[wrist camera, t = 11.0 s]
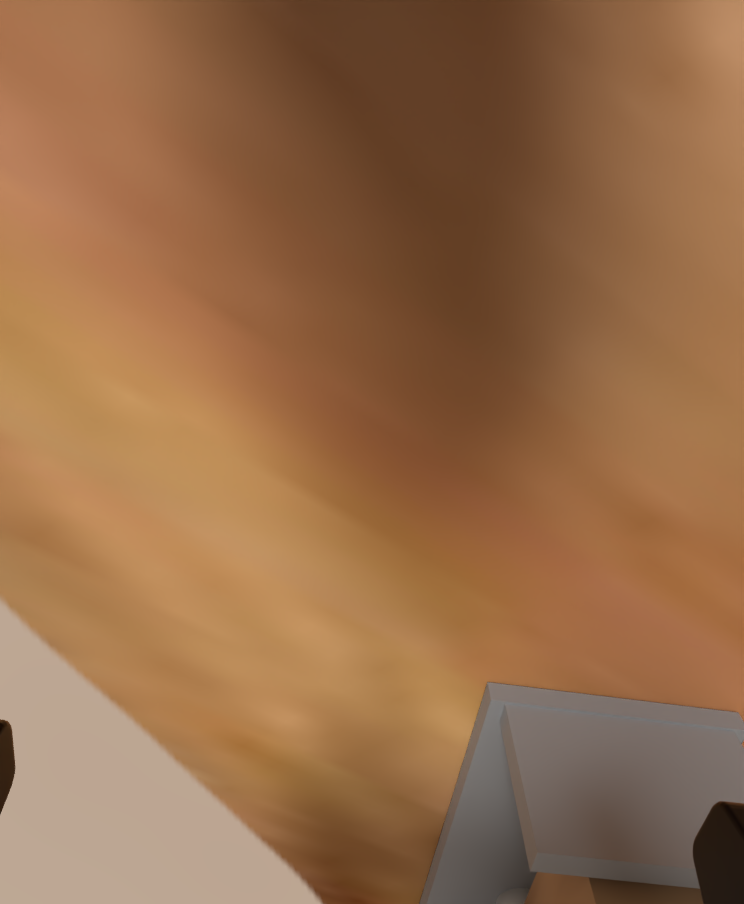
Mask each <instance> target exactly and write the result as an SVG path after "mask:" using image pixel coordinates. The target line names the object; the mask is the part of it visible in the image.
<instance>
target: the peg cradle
mask: <svg viewBox="0 0 744 904" xmlns="http://www.w3.org/2000/svg"><path fill="white" fill-rule="evenodd" d="M743 741H744V722H743V720H742V718H741V717H740V715H739V713H738V712H729V711H721V710H713V709H705V708H696V707H688V706H680V705H672V704H663V703H655V702H647V701H639V700H630V699H622V698H614V697H606V696H597V695H589V694H581V693H573V692H564V691H556V690H548V689H540V688H532V687H523V686H515V685H507V684H499V683H490V682H487V686H486V689H485V692H484V695H483V699H482V702H481V705H480V708H479V712H478V715H477V718H476V721H475V725H474V728H473V731H472V734H471V738H470V741H469V744H468V747H467V751H466V754H465V757H464V760H463V764H462V767H461V770H460V773H459V777H458V780H457V783H456V786H455V789H454V793H453V796H452V799H451V802H450V806H449V809H448V812H447V815H446V819H445V822H444V825H443V828H442V832H441V835H440V838H439V841H438V845H437V848H436V851H435V854H434V858H433V861H432V864H431V867H430V871H429V874H428V877H427V880H426V884H425V887H424V890H423V893H422V897H421V900H420V903H419V904H524V902H525V900H526V898H527V895H528V893H529V890H530V888H531V885H532V883H533V881H534V878H535V876H536V873H537V872H542V873H552V874H562V875H571V876H581V877H591V878H600V879H610V880H620V881H630V882H639V883H649V884H659V885H668V886H678V887H688V888H698V889H700V887H699V883H698V878H697V874H696V870H695V865H694V861H693V852H692V851H693V843H694V839H695V837H696V835H697V833H698V831H699V830H700V828H701V826H702V824H703V822H704V821H705V819H706V817H707V815H708V813H709V812H710V810H711V808H712V806H713V805H714V804H715V803H717V802H719V801H726V802H735V803H743V804H744V748H743V746H742V743H743Z"/></svg>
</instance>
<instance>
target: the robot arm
mask: <svg viewBox="0 0 744 904" xmlns="http://www.w3.org/2000/svg"><path fill="white" fill-rule="evenodd" d="M14 774H15V759H14V747H13V737H12V729H11V725H10V724H9V722H8V721H5V720H0V814H1V811H2V809H3V806H4V804H5V801H6V799H7V796H8V794H9V791H10V788H11V786H12V782H13V778H14ZM692 852H693V861H694V865H695V870H696V874H697V878H698V883H699V887H700V891H701V896H702V900H703V904H744V804H743V803H735V802H726V801H719V802H717V803H715V804H714V805H713V806H712V808H711V810H710V812H709V813H708V815H707V817H706V819H705V821H704V822H703V824H702V826H701V828H700V830H699V831H698V833H697V835H696V837H695V839H694V843H693V851H692Z"/></svg>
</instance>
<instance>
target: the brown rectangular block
mask: <svg viewBox="0 0 744 904" xmlns="http://www.w3.org/2000/svg"><path fill="white" fill-rule="evenodd" d="M524 904H703V900H702V896H701V891H700V889H698V888H688V887H678V886H668V885H659V884H649V883H639V882H630V881H620V880H610V879H600V878H591V877H581V876H571V875H562V874H552V873H542V872H537V873H536V876H535V878H534V881H533V883H532V885H531V888H530V890H529V893H528V895H527V898H526V900H525V902H524Z"/></svg>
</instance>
